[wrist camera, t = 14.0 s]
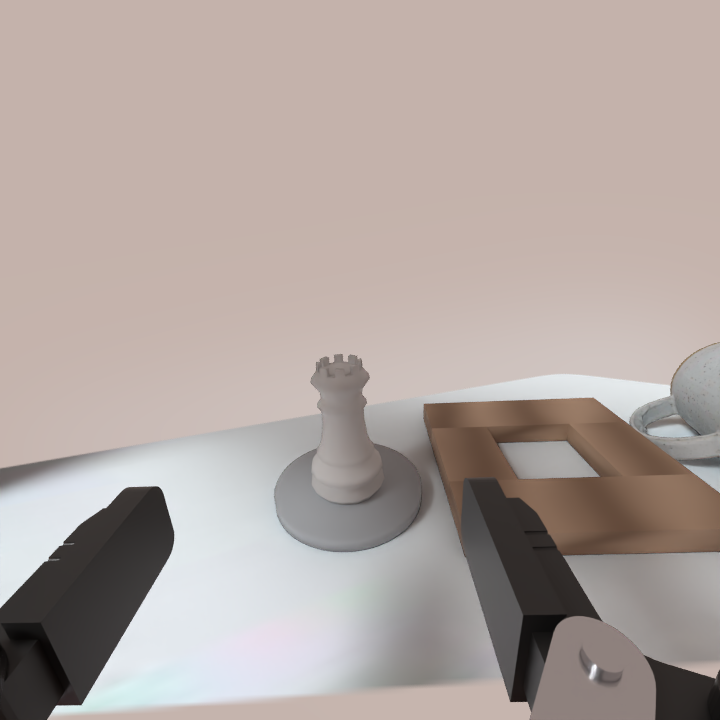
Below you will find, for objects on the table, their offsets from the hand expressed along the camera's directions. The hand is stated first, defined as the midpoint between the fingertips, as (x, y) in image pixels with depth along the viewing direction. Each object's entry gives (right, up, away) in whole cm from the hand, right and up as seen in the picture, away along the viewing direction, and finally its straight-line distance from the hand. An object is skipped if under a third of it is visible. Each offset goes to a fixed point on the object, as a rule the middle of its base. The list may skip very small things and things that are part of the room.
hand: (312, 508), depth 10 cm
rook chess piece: (+1, -4, +13) cm, 14 cm away
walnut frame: (+14, -3, +15) cm, 20 cm away
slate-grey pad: (+1, -4, +13) cm, 14 cm away
